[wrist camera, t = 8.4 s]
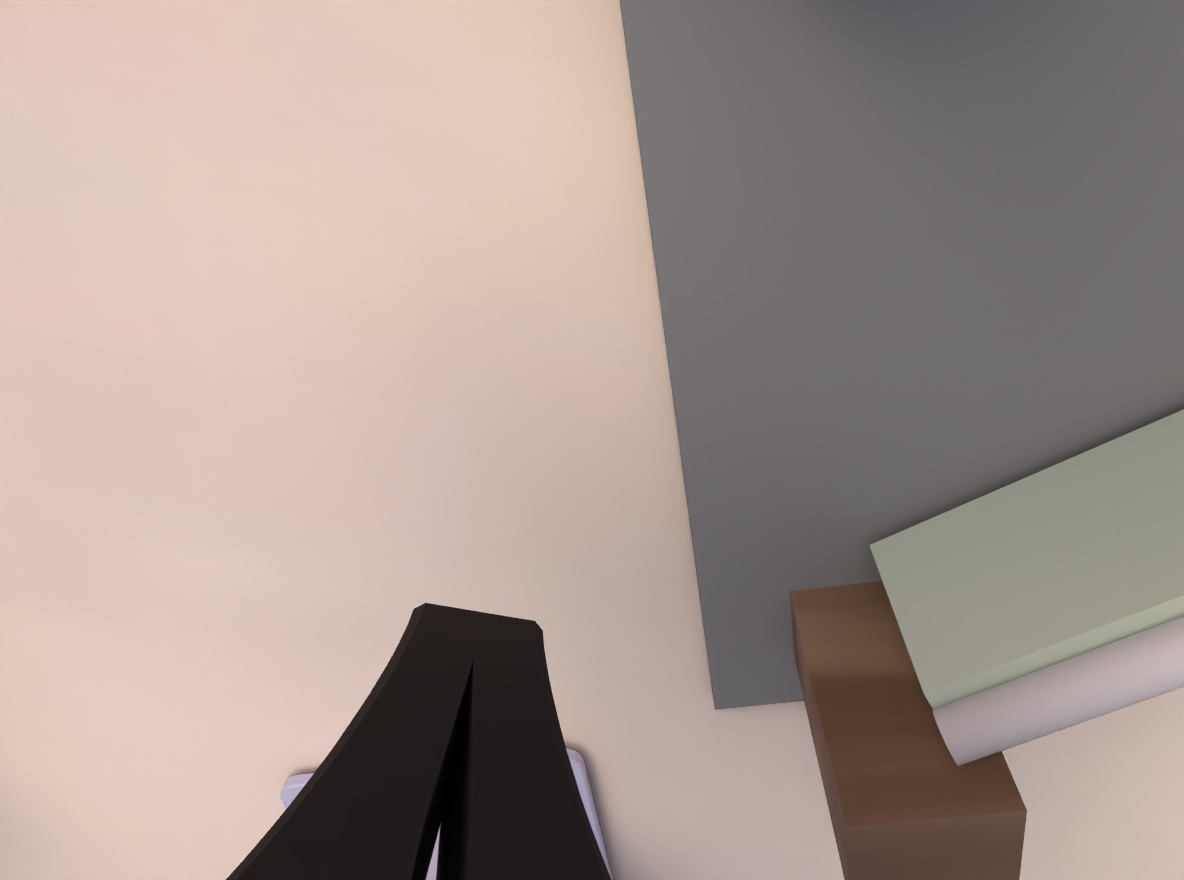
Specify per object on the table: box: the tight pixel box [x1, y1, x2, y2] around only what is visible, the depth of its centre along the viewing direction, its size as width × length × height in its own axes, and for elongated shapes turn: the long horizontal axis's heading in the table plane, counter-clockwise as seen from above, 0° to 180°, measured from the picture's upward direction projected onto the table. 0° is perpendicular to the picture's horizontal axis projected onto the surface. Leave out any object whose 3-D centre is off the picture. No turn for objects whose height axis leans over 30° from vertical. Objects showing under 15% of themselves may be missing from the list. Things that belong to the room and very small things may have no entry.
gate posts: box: [790, 581, 1027, 880], centre depth 16 cm, size 18×3×6 cm, turn 9°
